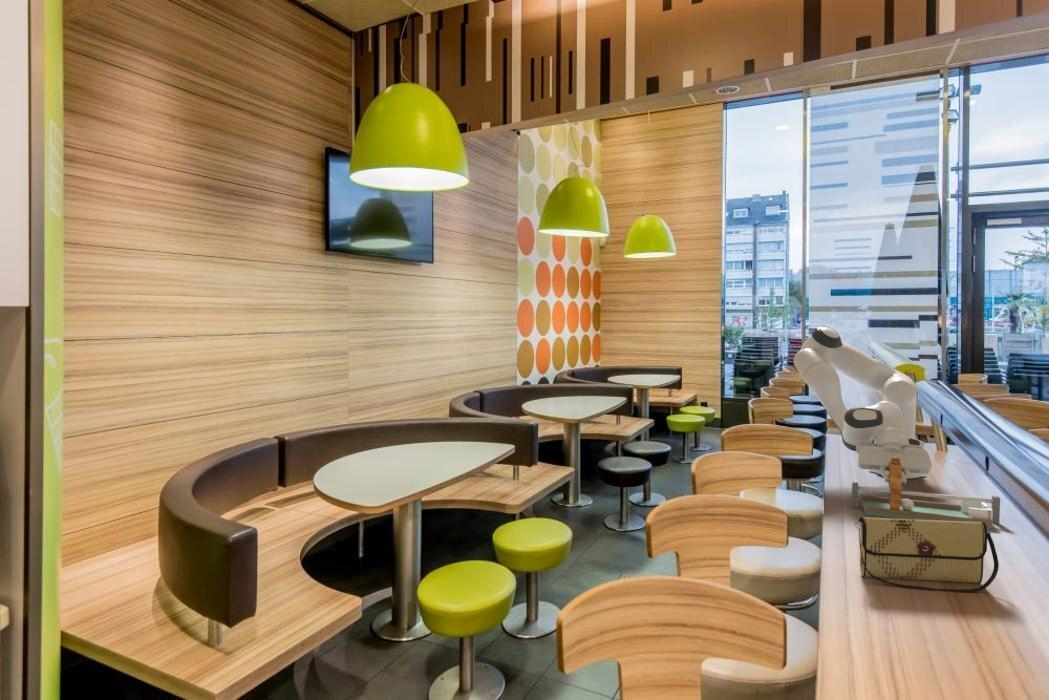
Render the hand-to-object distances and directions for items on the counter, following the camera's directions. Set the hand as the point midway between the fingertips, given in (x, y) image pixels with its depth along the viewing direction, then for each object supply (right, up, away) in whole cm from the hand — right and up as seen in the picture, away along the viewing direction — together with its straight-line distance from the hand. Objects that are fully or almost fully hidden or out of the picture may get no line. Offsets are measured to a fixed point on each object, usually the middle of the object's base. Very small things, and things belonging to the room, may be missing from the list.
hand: (895, 481), depth 183 cm
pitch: (+7, -10, -2) cm, 12 cm away
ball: (+3, -7, 0) cm, 8 cm away
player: (0, -8, +1) cm, 8 cm away
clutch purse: (-23, -14, -47) cm, 54 cm away
